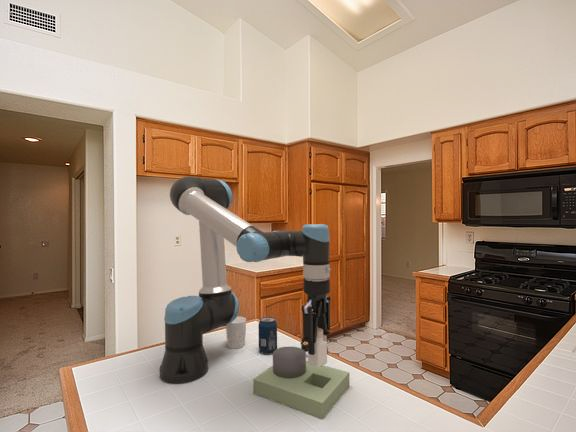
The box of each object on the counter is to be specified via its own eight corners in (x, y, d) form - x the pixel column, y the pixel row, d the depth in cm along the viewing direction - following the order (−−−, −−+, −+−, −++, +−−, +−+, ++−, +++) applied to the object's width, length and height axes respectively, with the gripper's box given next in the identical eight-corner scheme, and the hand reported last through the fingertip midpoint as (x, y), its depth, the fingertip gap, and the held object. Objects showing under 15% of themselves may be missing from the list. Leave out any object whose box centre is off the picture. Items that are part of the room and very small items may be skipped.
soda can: (264, 346, 123) (264, 315, 123) (280, 349, 120) (280, 317, 120) (255, 352, 116) (254, 320, 117) (271, 356, 113) (271, 323, 113)
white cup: (250, 343, 125) (250, 318, 125) (237, 350, 118) (236, 324, 118) (235, 339, 129) (235, 315, 129) (221, 346, 123) (221, 320, 123)
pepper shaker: (317, 368, 86) (317, 333, 86) (307, 363, 89) (307, 329, 89) (328, 364, 88) (327, 330, 89) (318, 359, 92) (317, 326, 92)
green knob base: (253, 393, 90) (252, 361, 90) (287, 367, 105) (286, 340, 105) (322, 419, 78) (322, 382, 78) (349, 385, 93) (349, 355, 93)
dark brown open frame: (331, 358, 113) (321, 340, 111) (308, 368, 114) (297, 351, 112) (328, 337, 124) (318, 321, 122) (307, 346, 126) (297, 330, 124)
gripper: (313, 286, 80) (314, 378, 79) (341, 274, 95) (342, 352, 94) (288, 283, 84) (289, 371, 83) (318, 272, 99) (319, 347, 98)
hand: (317, 361), depth 89 cm, fingers closed on pepper shaker, 5 cm apart
